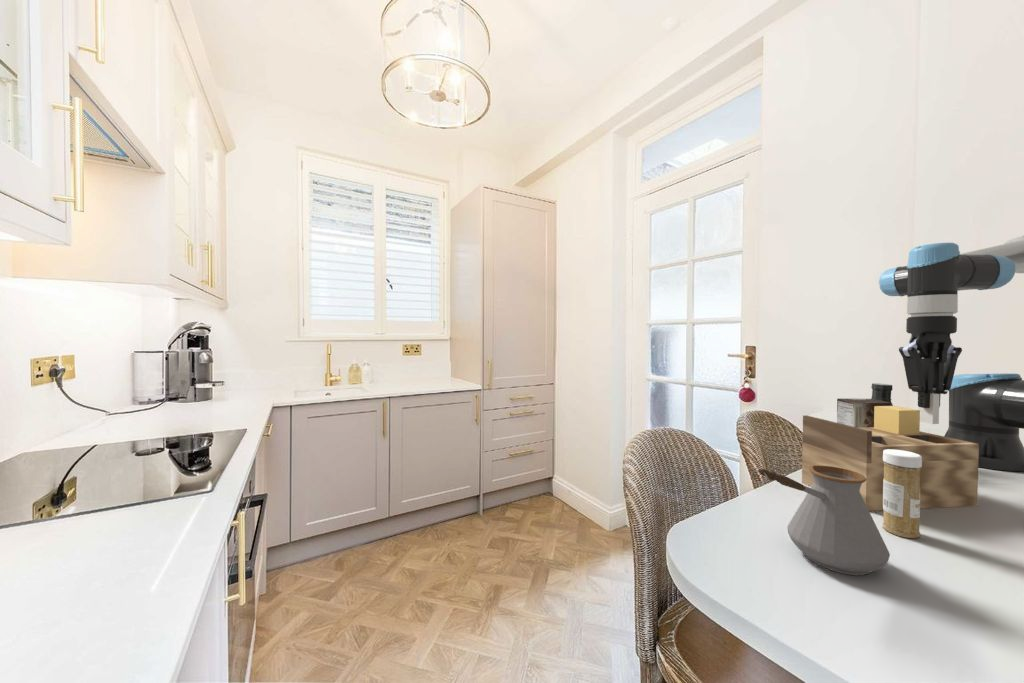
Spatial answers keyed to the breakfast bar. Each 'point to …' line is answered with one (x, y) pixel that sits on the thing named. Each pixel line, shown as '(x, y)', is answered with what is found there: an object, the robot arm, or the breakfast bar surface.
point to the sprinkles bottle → (901, 492)
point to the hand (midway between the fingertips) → (928, 422)
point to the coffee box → (858, 411)
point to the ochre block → (897, 419)
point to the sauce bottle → (881, 392)
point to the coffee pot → (835, 522)
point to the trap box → (861, 450)
